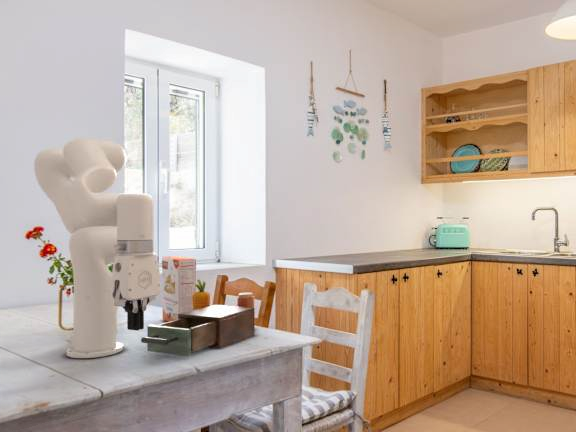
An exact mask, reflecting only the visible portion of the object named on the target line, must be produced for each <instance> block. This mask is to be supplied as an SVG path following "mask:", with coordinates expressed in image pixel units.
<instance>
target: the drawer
mask: <svg viewBox="0 0 576 432" xmlns="http://www.w3.org/2000/svg"><path fill="white" fill-rule="evenodd" d="M217 321H218V320H207V319H196V318H186V317H185V318H181V319H178V320H174V321H170V322H167V321H165V322H162V323H158V324H156V325H155V324H149V325H147V326H146V327H147V328H146V329H147V336H142V337H141V339H140V342H141V343H142V344H146V345H147V352H153V353H159V354H168V355H175V356H176V355H177V356H183V357H189V356H191V355H192V353H193V352H196V351H199V350H203V349H205V348H209V347H208V346H210V345H213V344H216V343H217Z"/></svg>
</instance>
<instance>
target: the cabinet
mask: <svg viewBox="0 0 576 432" xmlns="http://www.w3.org/2000/svg"><path fill="white" fill-rule="evenodd" d="M255 313H256V312H255V307H254V308H253V307H240V306H237V305H228V304H227V305H226V304H212V305H210V306H208V307H204V308H200V309H196V310H192V311H188V312H184V313H180V314H178V319H181V318H185V317H186V318H196V319H207V320H218V321H217V343H216V344H213V345H210V346H208V347H207V348H208V349H209V348H210V349H218V350H220V349H224V348H225V347H228V346H231V345H234V344H236V343H238V342H242V341H245V340H247V339H249V338H252V337H255V315H256V314H255Z"/></svg>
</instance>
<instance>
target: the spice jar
mask: <svg viewBox="0 0 576 432" xmlns="http://www.w3.org/2000/svg"><path fill="white" fill-rule="evenodd" d="M236 306H240V307H253V308H255V295H254V293H253V292H250V291H249V292H248V291H247V292H246V291H245V292H239V293H238V296H237V297H236Z"/></svg>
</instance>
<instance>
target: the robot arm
mask: <svg viewBox="0 0 576 432" xmlns="http://www.w3.org/2000/svg"><path fill="white" fill-rule="evenodd" d="M126 162H127V154H126V151H125V149H124V147H123V146H122V145H121V144H120V143H118V142H116V141H113V140H105V139H96V138H85V137H78V138H73V139H71V140H69V141H68V142H66V144H65V145H64V146H63V147H54V148H46V149H43V150H41V151H39V152H38V153H37V154H36V156H35V158H34V167H33V169H34V174H35V175H34V176H35V178H36V181H37V183H38V185H39V187H40V189H41V190H42V192H43V193H44V194H45V196H46V197H47V198H48V199H49V200H50V201H51V203H52V204H53V205H54V207H55V209H56V211H57V213H58V216H59V218H60V219H61V221H62V223H63V226H64V227H65V230H67V232H68V233H69V234H71V235H70V237H69V241H68V248H69V249H68V250H69V255H70V260H71V265H72V277H73V332H72V333H71V334H70V335H68V336H66V337H65V339H64V340H65V342H66V343H70V344H71V345H70V346H71V347H69V348H68V349H66V351H65V352H66V353H65V355H66V356H67V357H68V358H72V359H93V358H95V359H96V358H101V357H107V356H111V355H116V354H119V353H120V352H122V351H123V350H124V344H123V343H122V342H118V341H117V339H118V338H117V332H118V329H117V326H118V325H117V323H118V320H117V319H118V316H117V315H118V313H117V311H118V309H117V307H119V308H120V307H121V308H122V309H123V310H124V312H125V313H126V317H127V319H126V320H127V322H126V323H127V324H126V325H127V326H126V327H127V330H130V331H140V330H143V329H144V328H145V312H146V310H147V307H148V305H149V303H151V302H153V301H154V300H156V296H158V295H160V293H161V277H160V275H161V274H160V267H159V261H158V256H157V253H155V252H154V249H155V248H154V247H155V246H154V199H153V197H152V195H151V194H149V193H148V194H147V193H118V192H105V191H108V189H110V188H111V187H112V186H113V185H114V184H115V182H116V181H117V180H116V179H117V174H119V173H120V172H121V171H123V169H124V168H125V166H126ZM107 265H112V272H111V270H110V269H109V268H108V266H107Z"/></svg>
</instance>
